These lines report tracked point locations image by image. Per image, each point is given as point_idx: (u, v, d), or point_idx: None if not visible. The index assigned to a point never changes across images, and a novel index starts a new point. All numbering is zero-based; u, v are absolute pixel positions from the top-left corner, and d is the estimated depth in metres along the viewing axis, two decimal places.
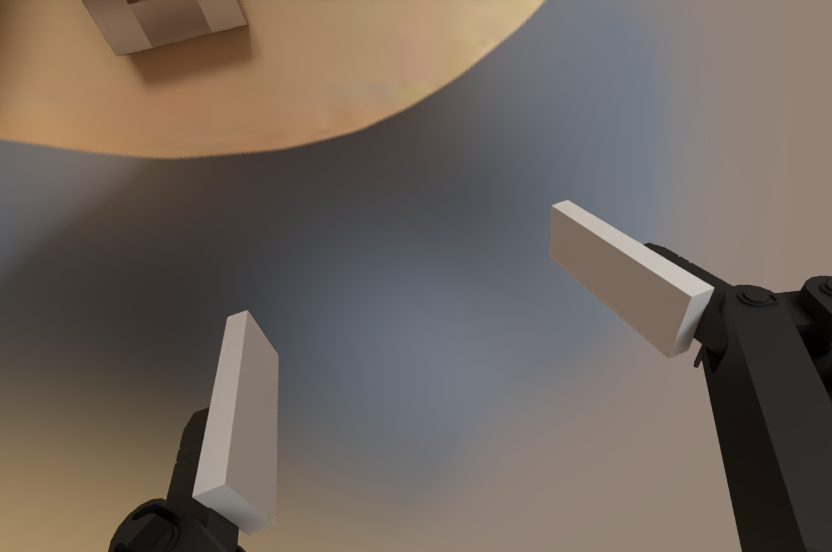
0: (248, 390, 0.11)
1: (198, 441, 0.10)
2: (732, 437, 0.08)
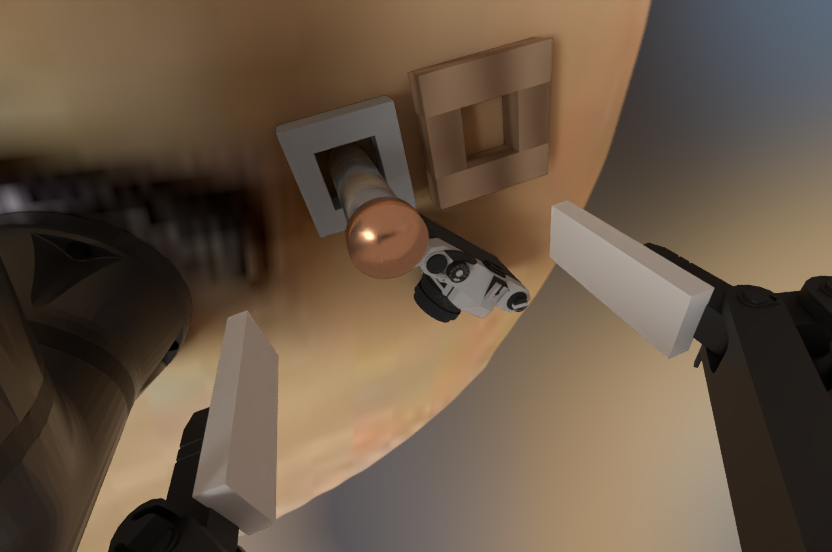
0: (248, 390, 0.11)
1: (198, 441, 0.10)
2: (732, 437, 0.08)
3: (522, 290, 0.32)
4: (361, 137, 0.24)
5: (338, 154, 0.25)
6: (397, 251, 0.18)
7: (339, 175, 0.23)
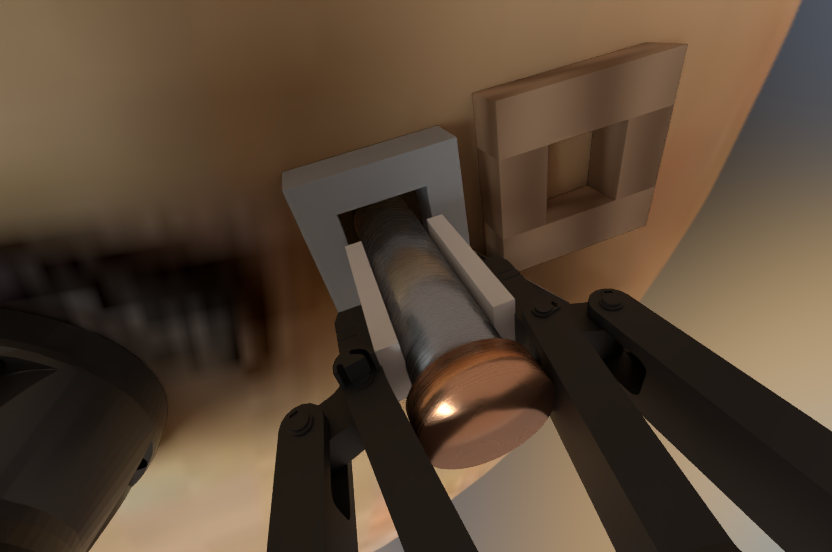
0: None
1: (351, 329, 0.12)
2: (574, 445, 0.09)
3: None
4: (406, 189, 0.17)
5: (371, 212, 0.17)
6: (499, 430, 0.10)
7: (377, 253, 0.15)
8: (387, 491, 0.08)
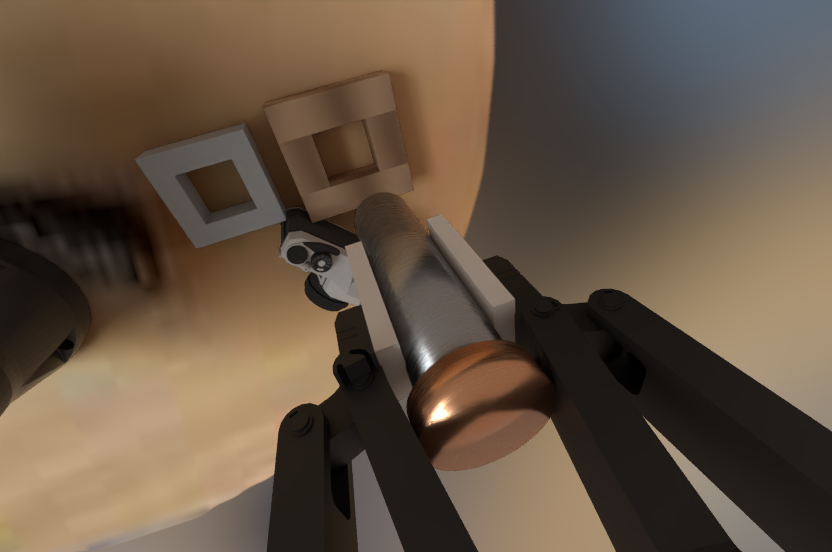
0: None
1: (351, 329, 0.12)
2: (573, 446, 0.09)
3: None
4: (218, 161, 0.28)
5: (371, 213, 0.17)
6: (500, 432, 0.10)
7: (378, 254, 0.15)
8: (387, 491, 0.08)
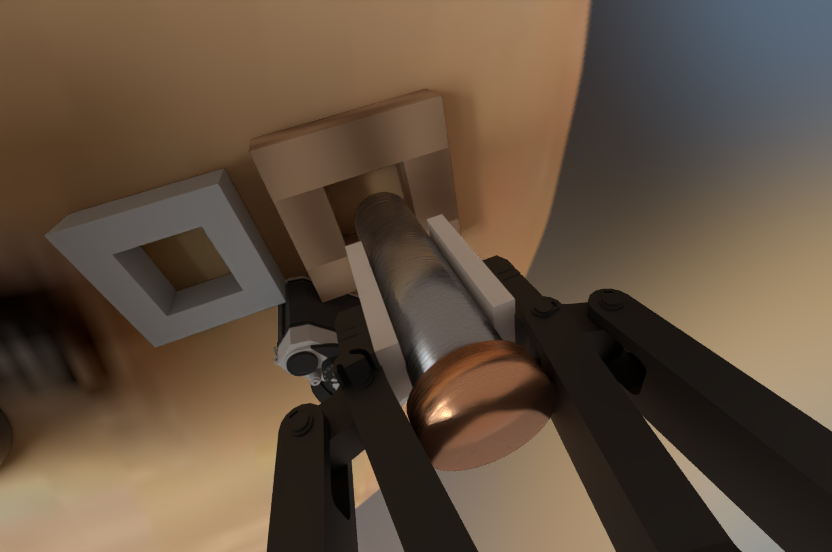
0: None
1: (351, 329, 0.12)
2: (573, 445, 0.09)
3: None
4: (181, 230, 0.18)
5: (371, 213, 0.17)
6: (500, 432, 0.10)
7: (378, 254, 0.15)
8: (387, 491, 0.08)
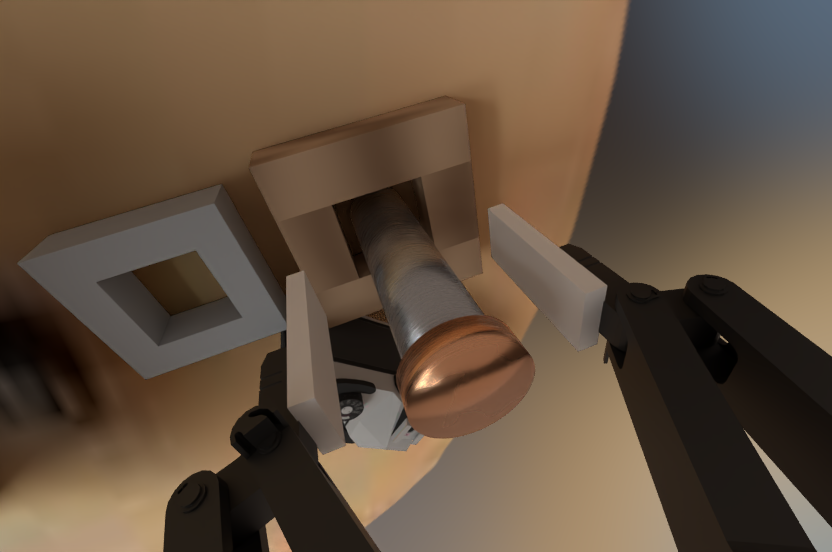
0: (314, 334, 0.12)
1: (276, 374, 0.11)
2: (647, 432, 0.09)
3: None
4: (173, 255, 0.16)
5: (366, 205, 0.18)
6: (483, 401, 0.11)
7: (372, 243, 0.16)
8: None
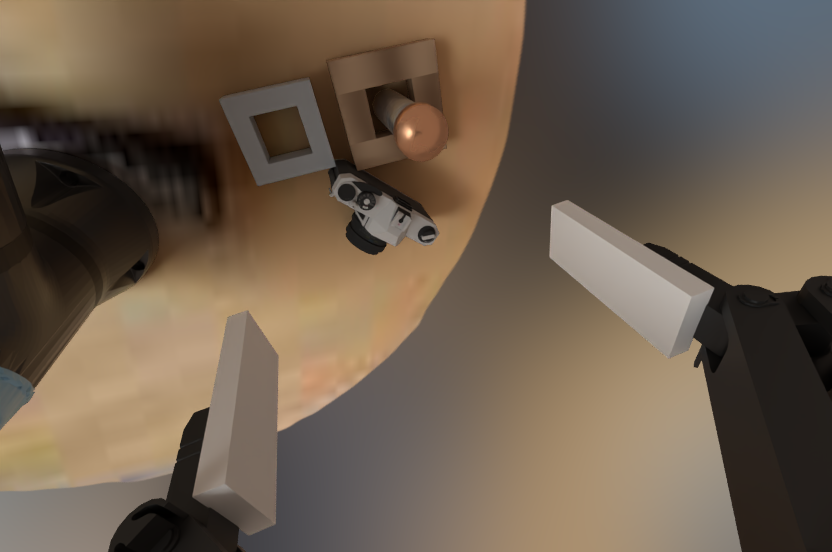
0: (248, 390, 0.11)
1: (198, 441, 0.10)
2: (732, 437, 0.08)
3: (430, 224, 0.38)
4: (286, 106, 0.32)
5: (382, 94, 0.34)
6: (427, 140, 0.27)
7: (385, 103, 0.32)
8: None
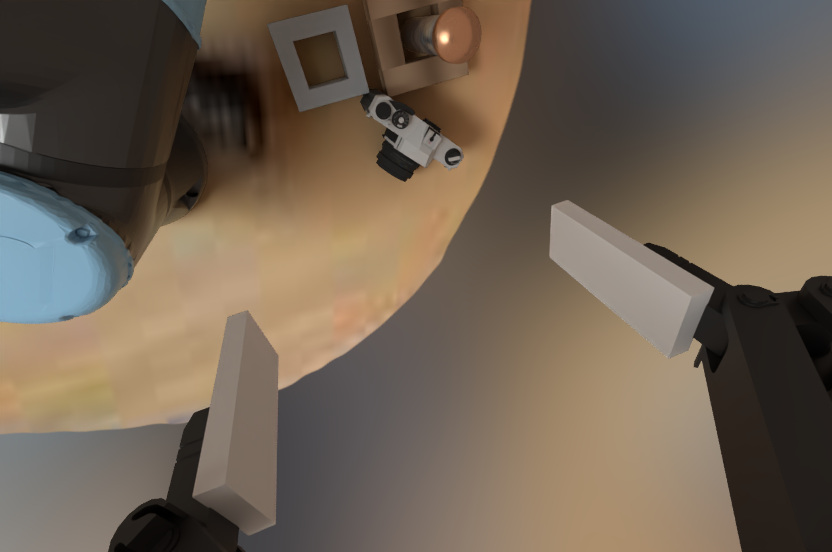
0: (248, 390, 0.11)
1: (198, 441, 0.10)
2: (732, 437, 0.08)
3: (456, 147, 0.42)
4: (326, 31, 0.36)
5: (411, 20, 0.38)
6: (462, 42, 0.30)
7: (416, 24, 0.35)
8: None
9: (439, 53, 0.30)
